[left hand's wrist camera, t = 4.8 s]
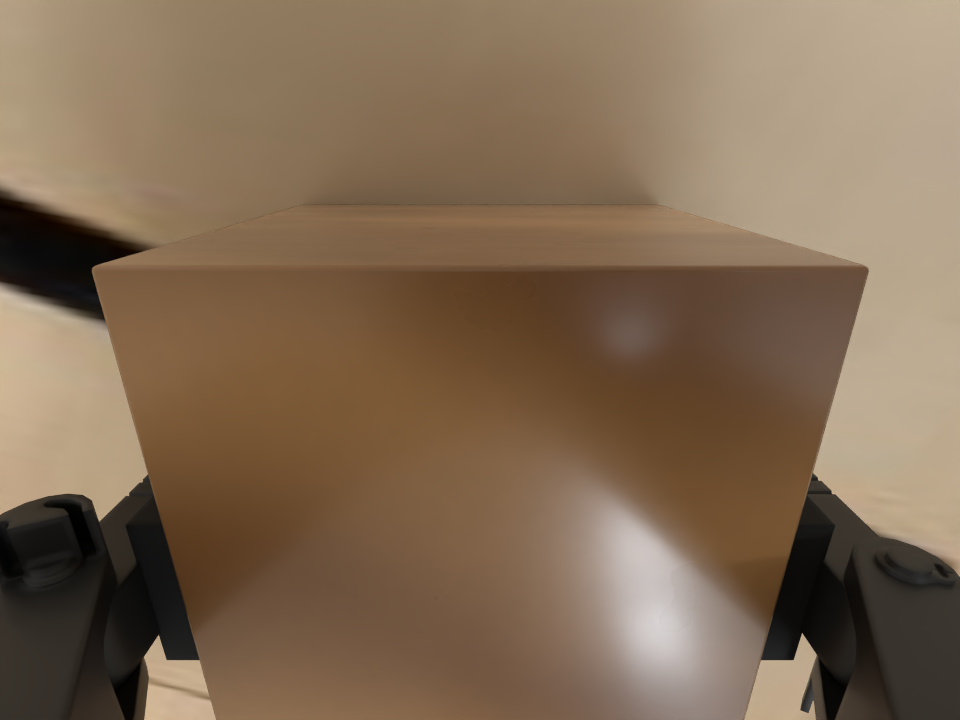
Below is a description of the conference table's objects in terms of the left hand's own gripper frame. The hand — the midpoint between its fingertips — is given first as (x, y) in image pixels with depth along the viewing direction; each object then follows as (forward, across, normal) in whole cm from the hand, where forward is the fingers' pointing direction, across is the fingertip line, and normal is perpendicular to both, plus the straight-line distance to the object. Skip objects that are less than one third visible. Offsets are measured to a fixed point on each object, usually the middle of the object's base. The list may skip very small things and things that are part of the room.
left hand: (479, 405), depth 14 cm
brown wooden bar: (+1, 0, -23) cm, 23 cm away
